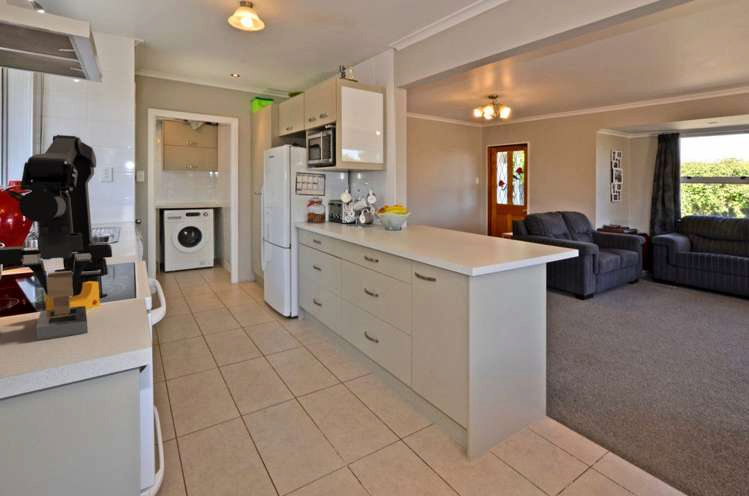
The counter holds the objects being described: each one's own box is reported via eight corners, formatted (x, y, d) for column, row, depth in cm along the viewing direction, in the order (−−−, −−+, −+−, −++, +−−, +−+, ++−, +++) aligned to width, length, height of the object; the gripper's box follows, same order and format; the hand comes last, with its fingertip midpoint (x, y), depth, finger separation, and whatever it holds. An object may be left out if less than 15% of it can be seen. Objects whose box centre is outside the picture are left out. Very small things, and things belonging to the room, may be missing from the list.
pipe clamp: (84, 305, 104) (82, 280, 103) (100, 306, 103) (98, 281, 102) (40, 319, 92) (37, 291, 91) (57, 320, 91) (55, 292, 91)
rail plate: (41, 322, 89) (40, 311, 89) (86, 316, 94) (85, 305, 94) (37, 340, 78) (36, 327, 78) (87, 332, 83) (86, 320, 83)
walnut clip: (51, 306, 88) (48, 272, 87) (74, 303, 90) (71, 270, 89) (49, 315, 81) (46, 279, 80) (74, 312, 83) (71, 276, 83)
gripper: (-14, 222, 71) (-5, 308, 73) (111, 220, 82) (116, 295, 84) (-5, 219, 80) (3, 296, 82) (107, 217, 91) (112, 285, 93)
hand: (61, 293), depth 85 cm, fingers closed on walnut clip, 4 cm apart
